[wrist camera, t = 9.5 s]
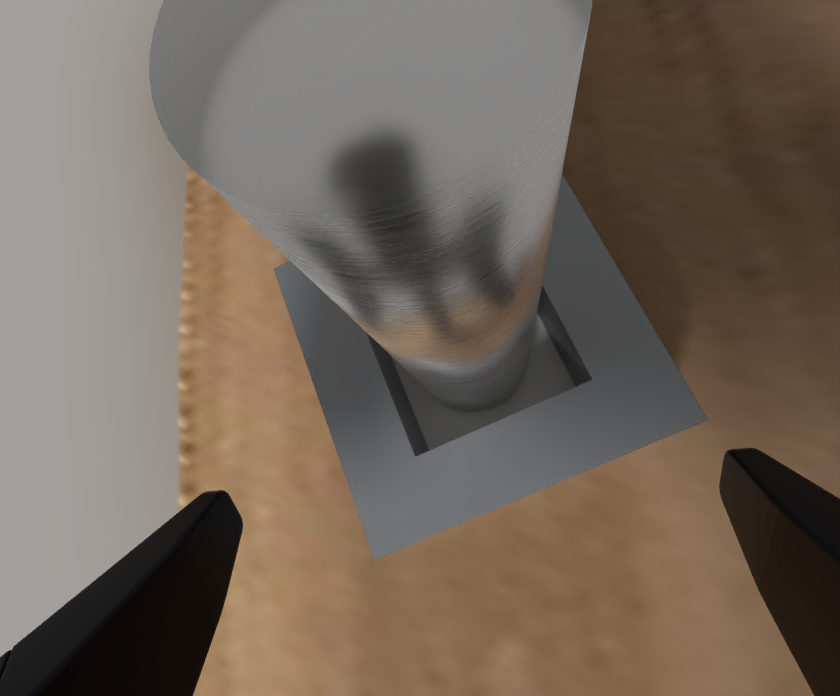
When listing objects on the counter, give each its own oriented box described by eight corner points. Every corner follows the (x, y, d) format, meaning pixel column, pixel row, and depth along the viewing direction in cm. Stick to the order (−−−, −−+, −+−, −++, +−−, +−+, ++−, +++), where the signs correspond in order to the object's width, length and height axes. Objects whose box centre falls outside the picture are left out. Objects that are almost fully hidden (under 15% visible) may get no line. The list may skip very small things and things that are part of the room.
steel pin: (469, 434, 17) (317, 315, 4) (397, 354, 18) (79, 38, 5) (552, 358, 17) (705, -35, 4) (475, 284, 18) (380, -220, 5)
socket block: (405, 538, 18) (374, 559, 14) (319, 305, 20) (273, 268, 17) (664, 429, 17) (708, 419, 13) (536, 201, 20) (541, 138, 16)
